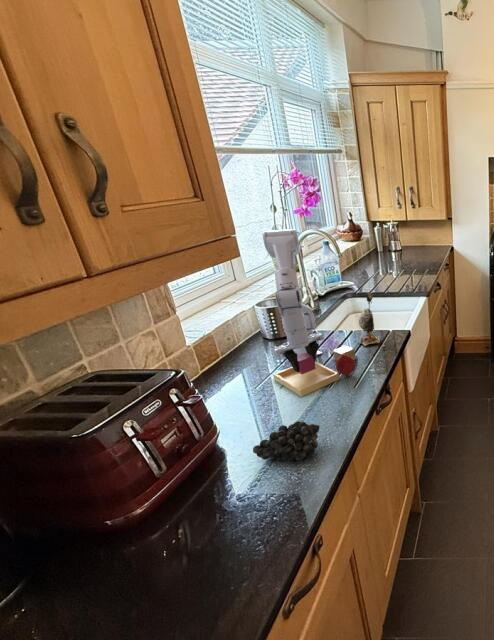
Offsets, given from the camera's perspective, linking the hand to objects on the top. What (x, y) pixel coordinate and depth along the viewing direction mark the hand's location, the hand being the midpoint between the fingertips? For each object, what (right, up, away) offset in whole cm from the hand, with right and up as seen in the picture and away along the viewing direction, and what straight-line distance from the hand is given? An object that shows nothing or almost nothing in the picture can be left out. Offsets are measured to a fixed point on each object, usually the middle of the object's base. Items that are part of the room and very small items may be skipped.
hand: (304, 367), depth 125 cm
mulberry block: (0, -1, 0) cm, 1 cm away
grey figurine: (+11, +7, +28) cm, 31 cm away
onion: (+12, -3, +3) cm, 13 cm away
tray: (0, -4, +2) cm, 4 cm away
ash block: (+8, +1, +14) cm, 16 cm away
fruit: (+12, -17, -31) cm, 38 cm away
